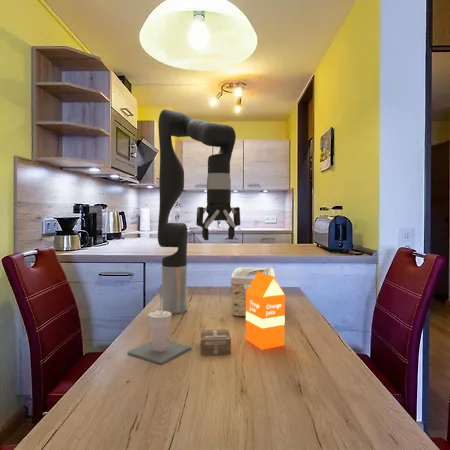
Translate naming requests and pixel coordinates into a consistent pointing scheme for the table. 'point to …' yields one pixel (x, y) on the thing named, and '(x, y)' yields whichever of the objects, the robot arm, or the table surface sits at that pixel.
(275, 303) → the orange juice
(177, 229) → the robot arm
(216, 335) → the lettered block
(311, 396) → the table surface
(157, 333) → the smoothie
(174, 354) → the slate pad
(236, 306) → the storage basket
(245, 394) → the table surface
